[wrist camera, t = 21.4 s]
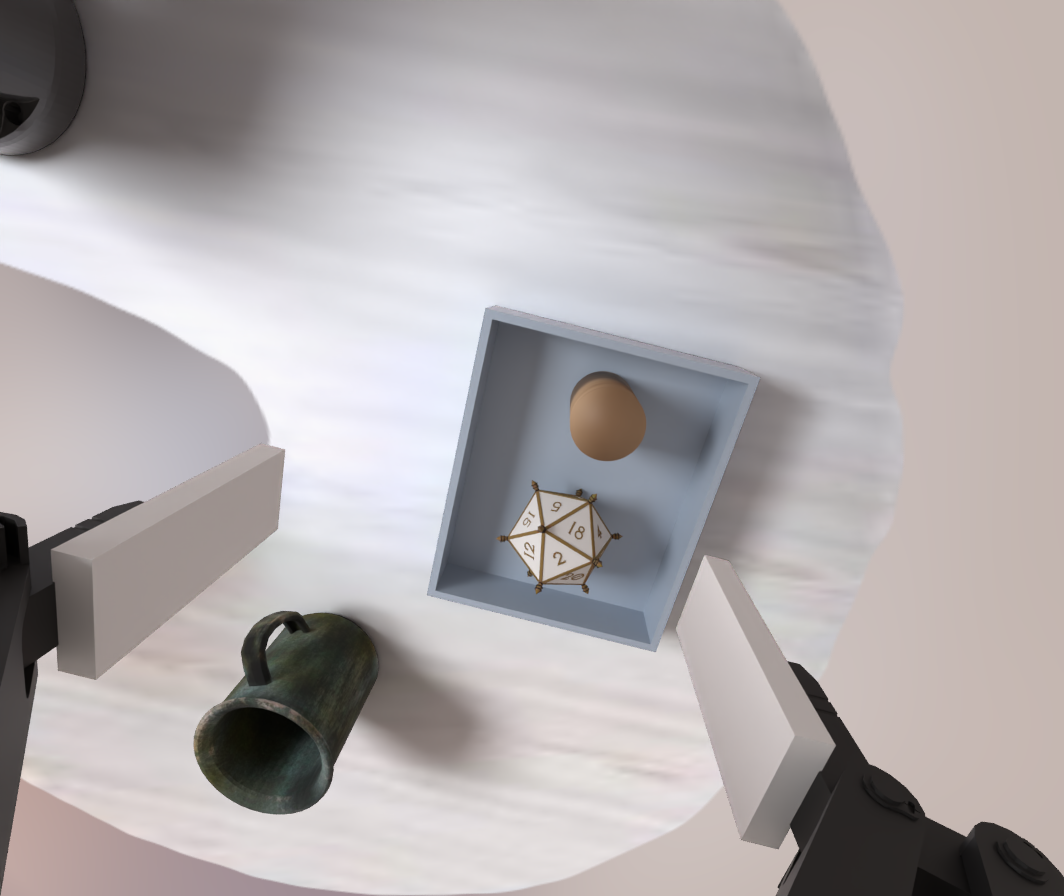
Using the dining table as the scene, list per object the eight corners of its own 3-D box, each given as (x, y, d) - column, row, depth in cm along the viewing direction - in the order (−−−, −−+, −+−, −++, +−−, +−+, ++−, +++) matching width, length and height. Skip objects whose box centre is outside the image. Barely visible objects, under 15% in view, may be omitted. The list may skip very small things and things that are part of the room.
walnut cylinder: (563, 424, 41) (561, 451, 35) (579, 364, 40) (581, 379, 33) (623, 439, 41) (633, 469, 35) (642, 380, 40) (656, 398, 33)
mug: (294, 703, 53) (219, 818, 41) (252, 579, 49) (155, 669, 37) (396, 697, 52) (347, 813, 40) (362, 569, 48) (296, 658, 36)
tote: (441, 563, 47) (426, 595, 42) (495, 305, 40) (485, 308, 35) (646, 615, 47) (655, 652, 42) (737, 366, 40) (760, 377, 35)
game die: (582, 491, 47) (665, 536, 39) (533, 572, 46) (607, 635, 39) (516, 447, 42) (597, 488, 34) (460, 538, 41) (528, 602, 33)
